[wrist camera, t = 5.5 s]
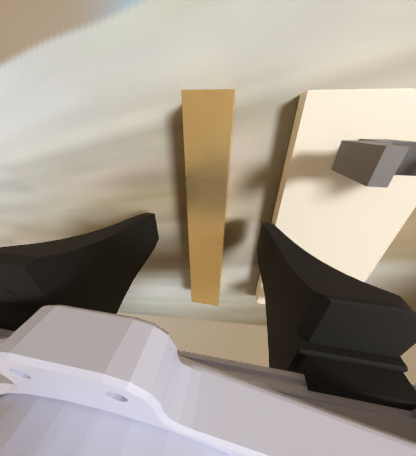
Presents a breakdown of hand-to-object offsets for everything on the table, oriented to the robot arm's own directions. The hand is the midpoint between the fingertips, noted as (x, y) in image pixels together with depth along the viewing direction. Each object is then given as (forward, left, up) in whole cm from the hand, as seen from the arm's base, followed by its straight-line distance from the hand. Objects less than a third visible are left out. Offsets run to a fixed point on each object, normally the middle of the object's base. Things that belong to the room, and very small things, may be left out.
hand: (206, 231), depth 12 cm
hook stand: (-8, 0, -2) cm, 8 cm away
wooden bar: (0, 0, -2) cm, 2 cm away
